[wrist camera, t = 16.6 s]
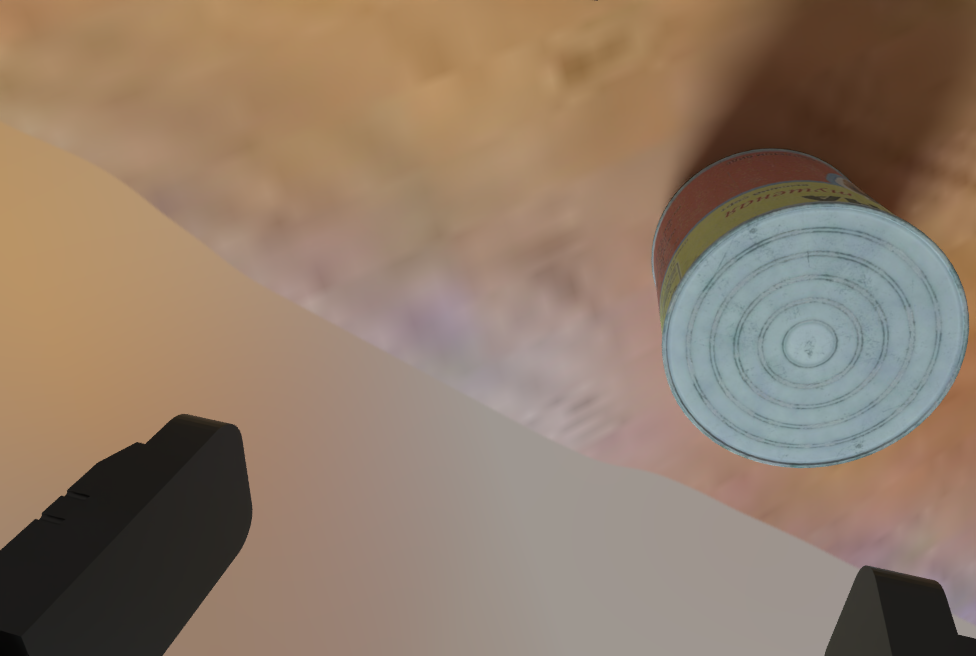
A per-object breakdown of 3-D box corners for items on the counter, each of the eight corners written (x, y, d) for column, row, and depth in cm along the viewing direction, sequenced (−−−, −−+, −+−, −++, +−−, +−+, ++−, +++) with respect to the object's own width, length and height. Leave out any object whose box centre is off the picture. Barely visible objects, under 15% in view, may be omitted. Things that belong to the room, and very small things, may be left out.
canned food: (918, 264, 40) (1031, 361, 29) (738, 388, 44) (777, 514, 33) (783, 100, 38) (849, 137, 27) (608, 246, 42) (604, 329, 31)
